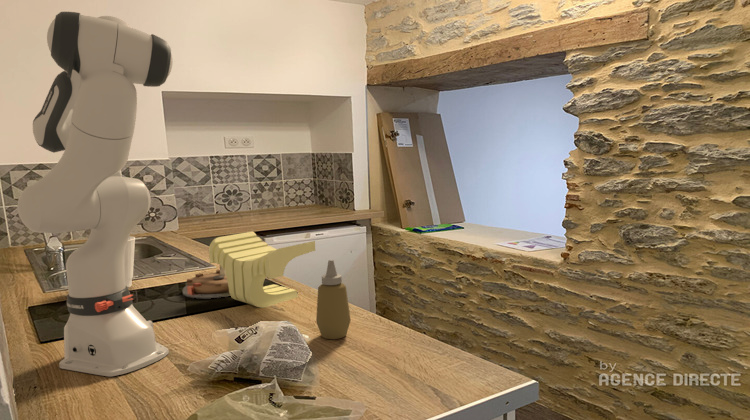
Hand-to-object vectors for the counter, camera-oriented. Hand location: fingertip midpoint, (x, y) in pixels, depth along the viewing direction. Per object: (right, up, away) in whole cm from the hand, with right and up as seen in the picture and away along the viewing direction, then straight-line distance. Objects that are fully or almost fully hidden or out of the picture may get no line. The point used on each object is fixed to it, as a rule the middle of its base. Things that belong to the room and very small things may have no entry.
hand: (106, 209), depth 142 cm
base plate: (+25, -25, +21) cm, 41 cm away
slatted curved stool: (+42, -27, +8) cm, 50 cm away
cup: (-10, -26, +27) cm, 39 cm away
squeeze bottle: (+65, -30, -22) cm, 75 cm away
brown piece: (+25, -24, +21) cm, 41 cm away
